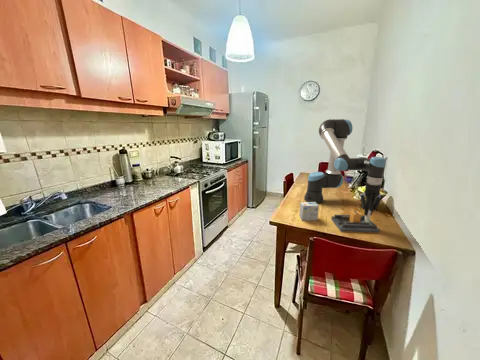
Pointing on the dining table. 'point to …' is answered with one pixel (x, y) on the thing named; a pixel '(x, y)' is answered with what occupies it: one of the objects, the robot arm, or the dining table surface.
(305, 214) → the light bulb box
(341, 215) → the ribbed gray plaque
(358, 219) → the lever
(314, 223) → the dining table surface
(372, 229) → the breaker panel
